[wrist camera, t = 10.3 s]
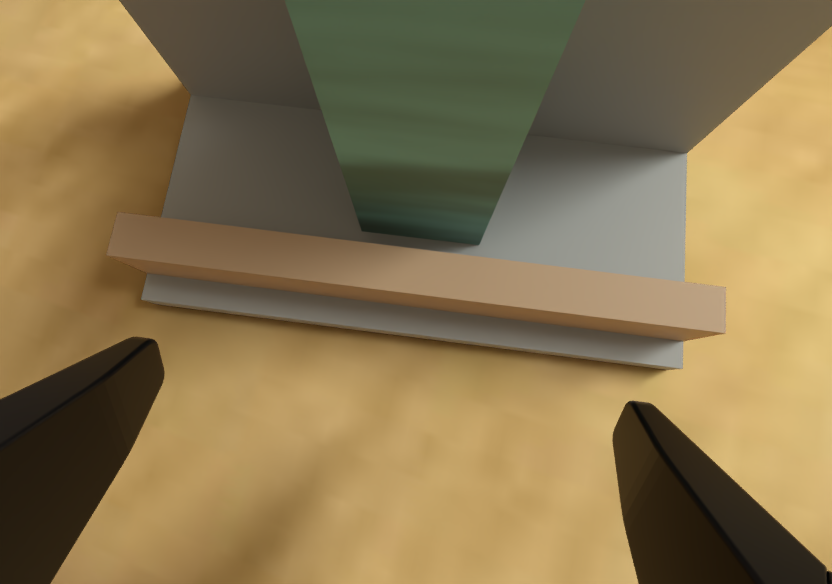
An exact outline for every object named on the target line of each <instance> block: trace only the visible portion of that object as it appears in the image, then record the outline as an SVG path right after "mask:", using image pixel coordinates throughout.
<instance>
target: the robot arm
mask: <svg viewBox="0 0 832 584" xmlns="http://www.w3.org/2000/svg"><path fill="white" fill-rule="evenodd" d="M163 380H164V367H163V363H162V359H161V355H160V351H159V347H158V344H157V342H156V341H155V340H153V339H150V338H142V337H131V338H128V339H126V340H124V341H122V342H120V343H118V344H115V345H113V346H111V347H109V348H107V349H105V350H103V351H101V352H99V353H97V354H95V355H92V356H90V357H88V358H86V359H84V360H82V361H80V362H78V363H76V364H74V365H71V366H69V367H67V368H65V369H63V370H61V371H59V372H57V373H55V374H53V375H51V376H48V377H46V378H44V379H42V380H40V381H38V382H36V383H34V384H32V385H30V386H28V387H25V388H23V389H21V390H19V391H17V392H15V393H13V394H11V395H9V396H7V397H4V398H2V399H0V584H50V583H51V582H52V580H53V578H54V577H55V575H56V573H57V572H58V570H59V569H60V567H61V565H62V564H63V562H64V560H65V559H66V557H67V555H68V554H69V552H70V550H71V549H72V547H73V545H74V544H75V542H76V541H77V539H78V537H79V536H80V534H81V532H82V531H83V529H84V527H85V526H86V524H87V522H88V521H89V519H90V518H91V516H92V514H93V513H94V511H95V509H96V508H97V506H98V504H99V503H100V501H101V499H102V498H103V496H104V495H105V493H106V491H107V490H108V488H109V486H110V485H111V483H112V481H113V480H114V478H115V476H116V475H117V473H118V471H119V470H120V468H121V467H122V465H123V463H124V461H125V460H126V458H127V456H128V455H129V453H130V451H131V449H132V447H133V445H134V443H135V441H136V439H137V437H138V435H139V432H140V430H141V428H142V426H143V424H144V422H145V420H146V418H147V415H148V413H149V411H150V409H151V407H152V405H153V403H154V401H155V398H156V396H157V394H158V392H159V390H160V388H161V386H162V383H163ZM613 449H614V456H615V464H616V472H617V479H618V487H619V494H620V502H621V509H622V515H623V521H624V526H625V530H626V535H627V539H628V543H629V547H630V551H631V555H632V559H633V563H634V567H635V571H636V575H637V579H638V583H639V584H832V572H831V571H827V569H826V566H825V565H824V564H823V563H822V562H820V561H819V560H818V559H817V558H816V557H815V556H814V555H813V554H812V553H811V552H810V551H809V550H808V549H807V548H806V547H804V546H803V545H802V544H801V543H800V542H799V541H798V540H797V539H796V538H795V537H794V536H793V535H792V534H791V533H790V532H788V531H787V530H786V529H785V528H784V527H783V526H782V525H781V524H780V523H779V522H778V521H777V520H776V519H775V518H774V517H772V516H771V515H770V514H769V513H768V512H767V511H766V510H765V509H764V508H763V507H762V506H761V505H760V504H759V503H758V502H756V501H755V500H754V499H753V498H752V497H751V496H750V495H749V494H748V493H747V492H746V491H745V490H744V489H743V488H742V487H740V486H739V485H738V484H737V483H736V482H735V481H734V480H733V479H732V478H731V477H730V476H729V475H728V474H727V473H726V472H725V471H723V470H722V469H721V468H720V467H719V466H718V465H717V464H716V463H715V462H714V461H713V460H712V459H711V458H710V457H709V456H707V455H706V454H705V453H704V452H703V451H702V450H701V449H700V448H699V447H698V446H697V445H696V444H695V443H694V442H693V441H691V440H690V439H689V438H688V437H687V436H686V435H685V434H684V433H683V432H682V431H681V430H680V429H679V428H678V427H677V426H675V425H674V424H673V423H672V422H671V421H670V420H669V419H668V418H667V417H666V416H665V415H664V414H663V413H662V412H661V411H659V410H658V409H657V408H656V407H655V406H654V405H652V404H650V403H646V402H638V401H629V402H628V403H627V404H626V405H625V407H624V409H623V411H622V413H621V415H620V418H619V420H618V422H617V424H616V426H615V429H614V432H613Z"/></svg>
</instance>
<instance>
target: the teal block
mask: <svg viewBox="0 0 832 584" xmlns="http://www.w3.org/2000/svg"><path fill="white" fill-rule="evenodd" d="M285 3H286V6H287V9H288V12H289V15H290V18H291V21H292V24H293V27H294V30H295V33H296V36H297V39H298V42H299V45H300V48H301V51H302V54H303V57H304V60H305V62H306V65H307V68H308V71H309V74H310V77H311V80H312V83H313V86H314V89H315V92H316V95H317V98H318V101H319V104H320V107H321V110H322V113H323V116H324V119H325V122H326V125H327V128H328V131H329V134H330V137H331V140H332V143H333V146H334V149H335V152H336V155H337V158H338V161H339V164H340V167H341V170H342V173H343V176H344V179H345V182H346V185H347V188H348V191H349V194H350V197H351V200H352V203H353V206H354V209H355V212H356V215H357V218H358V221H359V224H360V227H361V230H362V231H363V232H371V233H380V234H388V235H397V236H405V237H414V238H423V239H431V240H440V241H448V242H457V243H466V244H474V245H479V244H480V242H481V240H482V238H483V235H484V233H485V231H486V228H487V226H488V224H489V221H490V219H491V217H492V215H493V212H494V210H495V208H496V205H497V203H498V201H499V198H500V196H501V194H502V191H503V189H504V187H505V185H506V182H507V180H508V178H509V175H510V173H511V171H512V168H513V166H514V164H515V162H516V159H517V157H518V155H519V152H520V150H521V148H522V145H523V143H524V141H525V139H526V136H527V134H528V132H529V129H530V127H531V125H532V122H533V120H534V118H535V115H536V113H537V111H538V109H539V106H540V104H541V102H542V99H543V97H544V95H545V92H546V90H547V88H548V86H549V83H550V81H551V79H552V76H553V74H554V72H555V69H556V67H557V65H558V63H559V60H560V58H561V56H562V53H563V51H564V49H565V46H566V44H567V42H568V39H569V37H570V35H571V33H572V30H573V28H574V26H575V23H576V21H577V19H578V16H579V14H580V12H581V10H582V7H583V5H584V3H585V0H285Z"/></svg>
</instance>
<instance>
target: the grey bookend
mask: <svg viewBox="0 0 832 584" xmlns="http://www.w3.org/2000/svg"><path fill="white" fill-rule="evenodd" d="M119 1H120V2H121V3H122V5H123V6H124V7H125V9H126V10H127V11H128V12H129V14H130V15H131V16H132V18H133V19H134V20H135V22H136V23H137V24H138V26H139V27H140V28H141V30H142V31H143V32H144V34H145V35H146V36H147V38H148V39H149V40H150V42H151V43H152V44H153V46H154V47H155V48H156V49H157V51H158V52H159V53H160V55H161V56H162V57H163V59H164V60H165V61H166V63H167V64H168V65H169V67H170V68H171V69H172V71H173V72H174V73H175V75H176V76H177V77H178V79H179V80H180V81H181V83H182V84H183V85H184V86H185V88H186V89H187V90H188V92H189V93H190V94H191V97H190V101H189V105H188V109H187V113H186V117H185V121H184V125H183V129H182V134H181V138H180V142H179V146H178V150H177V154H176V158H175V162H174V166H173V170H172V174H171V179H170V183H169V187H168V191H167V195H166V199H165V203H164V207H163V211H162V215H161V217H155V216H147V215H139V214H131V213H123V212H117V216H116V220H115V223H114V227H113V231H112V235H111V239H110V242H109V246H108V250H107V254H106V255H107V256H109V257H111V258H114V259H116V260H118V261H120V262H123V263H125V264H127V265H129V266H132V267H134V268H136V269H139V270H141V271H143V272H145V273H147V277H146V281H145V285H144V289H143V293H142V297H141V300H144V301H147V302H150V303H153V304H158V305H166V306H174V307H181V308H189V309H197V310H205V311H213V312H220V313H228V314H236V315H244V316H252V317H260V318H267V319H275V320H283V321H291V322H299V323H306V324H314V325H322V326H330V327H338V328H345V329H353V330H361V331H369V332H377V333H384V334H392V335H400V336H408V337H416V338H423V339H431V340H439V341H447V342H455V343H462V344H470V345H478V346H486V347H494V348H501V349H509V350H517V351H525V352H533V353H540V354H548V355H556V356H564V357H572V358H580V359H587V360H595V361H603V362H611V363H619V364H626V365H634V366H642V367H650V368H658V369H665V370H674V369H683V341H687V340H693V339H698V338H703V337H708V336H714V335H719V334H724V333H726V287H721V286H713V285H705V284H697V283H689V282H684V277H685V225H686V174H687V153H688V152H689V151H690V150H691V149H692V148H693V147H694V146H696V145H697V144H698V143H699V142H700V141H701V140H702V139H704V138H705V137H706V136H707V135H708V134H709V133H710V132H712V131H713V130H714V129H715V128H716V127H717V126H718V125H719V124H721V123H722V122H723V121H724V120H725V119H726V118H727V117H729V116H730V115H731V114H732V113H733V112H734V111H735V110H737V109H738V108H739V107H740V106H741V105H742V104H743V103H744V102H746V101H747V100H748V99H749V98H750V97H751V96H752V95H754V94H755V93H756V92H757V91H758V90H759V89H760V88H762V87H763V86H764V85H765V84H766V83H767V82H768V81H769V80H771V79H772V78H773V77H774V76H775V75H776V74H777V73H779V72H780V71H781V70H782V69H783V68H784V67H785V66H787V65H788V64H789V63H790V62H791V61H792V60H793V59H795V58H796V57H797V56H798V55H799V54H800V53H801V52H802V51H804V50H805V49H806V48H807V47H808V46H809V45H810V44H812V43H813V42H814V41H815V40H816V39H817V38H818V37H820V36H821V35H822V34H823V33H824V32H825V31H826V30H827V29H829V28H830V27H831V26H832V0H585V3H584V5H583V7H582V10H581V12H580V14H579V16H578V19H577V21H576V23H575V26H574V28H573V30H572V33H571V35H570V37H569V39H568V42H567V44H566V46H565V49H564V51H563V53H562V56H561V58H560V60H559V63H558V65H557V67H556V69H555V72H554V74H553V76H552V79H551V81H550V83H549V86H548V88H547V90H546V92H545V95H544V97H543V99H542V102H541V104H540V106H539V109H538V111H537V113H536V115H535V118H534V120H533V122H532V125H531V127H530V129H529V132H528V134H527V136H526V139H525V141H524V143H523V145H522V148H521V150H520V152H519V155H518V157H517V159H516V162H515V164H514V166H513V168H512V171H511V173H510V175H509V178H508V180H507V182H506V185H505V187H504V189H503V191H502V194H501V196H500V198H499V201H498V203H497V205H496V208H495V210H494V212H493V215H492V217H491V219H490V221H489V224H488V226H487V228H486V231H485V233H484V235H483V238H482V240H481V242H480V244H479V245H474V244H466V243H457V242H448V241H440V240H431V239H423V238H414V237H405V236H397V235H388V234H380V233H371V232H363V231H362V230H361V227H360V224H359V221H358V218H357V215H356V212H355V209H354V206H353V203H352V200H351V197H350V194H349V191H348V188H347V185H346V182H345V179H344V176H343V173H342V170H341V167H340V164H339V161H338V158H337V155H336V152H335V149H334V146H333V143H332V140H331V137H330V134H329V131H328V128H327V125H326V122H325V119H324V116H323V113H322V110H321V107H320V104H319V101H318V98H317V95H316V92H315V89H314V86H313V83H312V80H311V77H310V74H309V71H308V68H307V65H306V62H305V60H304V57H303V54H302V51H301V48H300V45H299V42H298V39H297V36H296V33H295V30H294V27H293V24H292V21H291V18H290V15H289V12H288V9H287V6H286V3H285V0H119Z"/></svg>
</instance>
